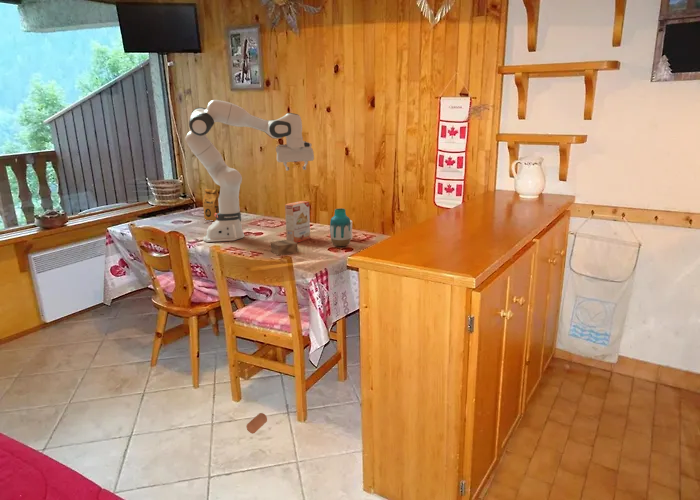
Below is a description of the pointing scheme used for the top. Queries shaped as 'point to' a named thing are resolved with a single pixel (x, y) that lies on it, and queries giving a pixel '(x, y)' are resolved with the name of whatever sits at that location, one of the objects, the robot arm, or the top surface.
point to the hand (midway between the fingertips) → (296, 169)
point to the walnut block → (284, 247)
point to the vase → (340, 228)
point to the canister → (256, 423)
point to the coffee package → (210, 204)
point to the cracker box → (297, 221)
